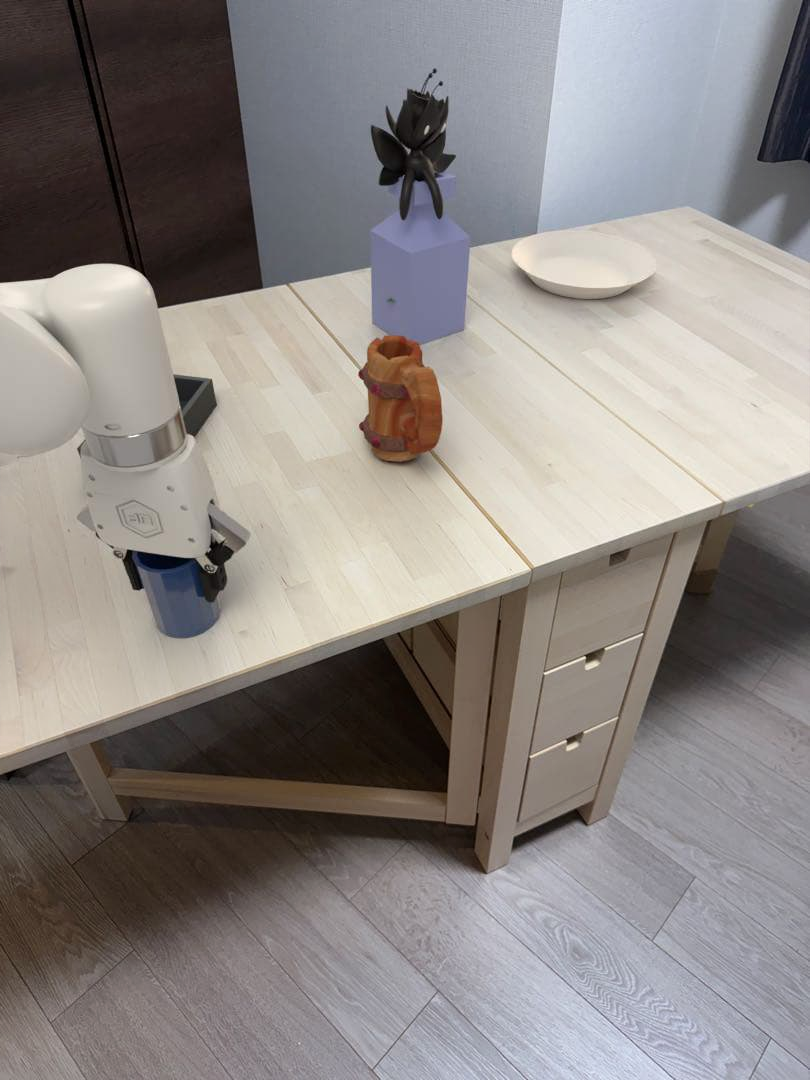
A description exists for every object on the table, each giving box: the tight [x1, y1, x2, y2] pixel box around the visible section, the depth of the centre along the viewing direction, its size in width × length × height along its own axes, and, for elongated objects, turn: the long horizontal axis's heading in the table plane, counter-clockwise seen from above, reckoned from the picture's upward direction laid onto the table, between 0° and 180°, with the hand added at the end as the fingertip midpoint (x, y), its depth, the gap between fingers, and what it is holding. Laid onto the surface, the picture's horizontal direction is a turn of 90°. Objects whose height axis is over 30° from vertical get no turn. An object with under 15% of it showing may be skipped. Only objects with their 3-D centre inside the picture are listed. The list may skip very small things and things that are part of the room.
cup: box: [132, 549, 221, 639], centre depth 70 cm, size 6×6×9 cm
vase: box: [369, 67, 472, 346], centre depth 105 cm, size 14×12×35 cm
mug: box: [357, 334, 443, 462], centre depth 87 cm, size 15×8×15 cm, turn 25°
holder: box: [76, 373, 218, 460], centre depth 94 cm, size 9×18×4 cm, turn 169°
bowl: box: [511, 229, 658, 300], centre depth 131 cm, size 25×25×4 cm
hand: (179, 584), depth 71 cm, fingers open, 6 cm apart
